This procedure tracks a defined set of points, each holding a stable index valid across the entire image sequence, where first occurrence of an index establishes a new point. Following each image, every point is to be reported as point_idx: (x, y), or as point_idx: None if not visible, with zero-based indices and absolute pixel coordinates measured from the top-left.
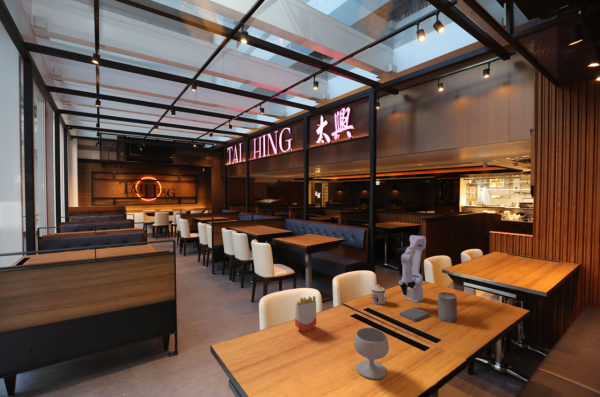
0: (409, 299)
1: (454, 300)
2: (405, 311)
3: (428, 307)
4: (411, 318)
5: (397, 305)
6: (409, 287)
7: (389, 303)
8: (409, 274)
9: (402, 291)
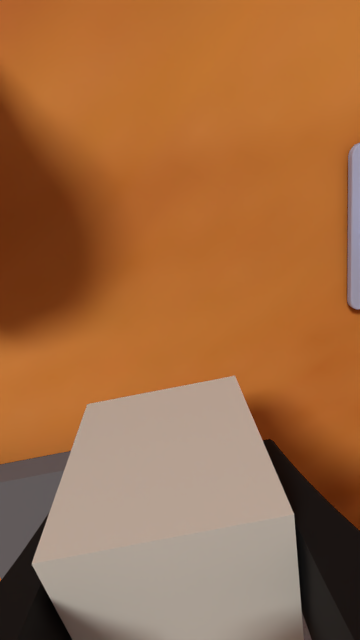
0: (352, 214)
1: None
2: (24, 490)
3: (345, 435)
4: (4, 573)
5: (82, 285)
6: (296, 588)
7: (13, 186)
8: None
9: (39, 534)
